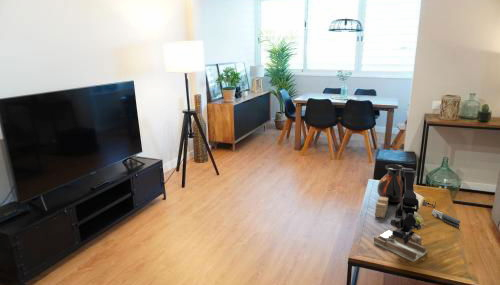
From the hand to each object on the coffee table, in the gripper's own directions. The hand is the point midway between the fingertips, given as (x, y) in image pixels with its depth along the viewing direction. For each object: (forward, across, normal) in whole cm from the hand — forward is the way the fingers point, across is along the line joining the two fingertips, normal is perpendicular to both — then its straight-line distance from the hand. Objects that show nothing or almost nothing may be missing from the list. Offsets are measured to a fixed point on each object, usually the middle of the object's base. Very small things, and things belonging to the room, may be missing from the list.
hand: (405, 243), depth 191 cm
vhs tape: (+5, -69, -22) cm, 73 cm away
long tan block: (+4, -12, -4) cm, 13 cm away
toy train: (+4, -28, -34) cm, 44 cm away
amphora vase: (+4, -50, -40) cm, 64 cm away
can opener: (+4, -53, -3) cm, 53 cm away
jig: (+4, 0, -3) cm, 5 cm away
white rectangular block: (+3, 0, -11) cm, 11 cm away
